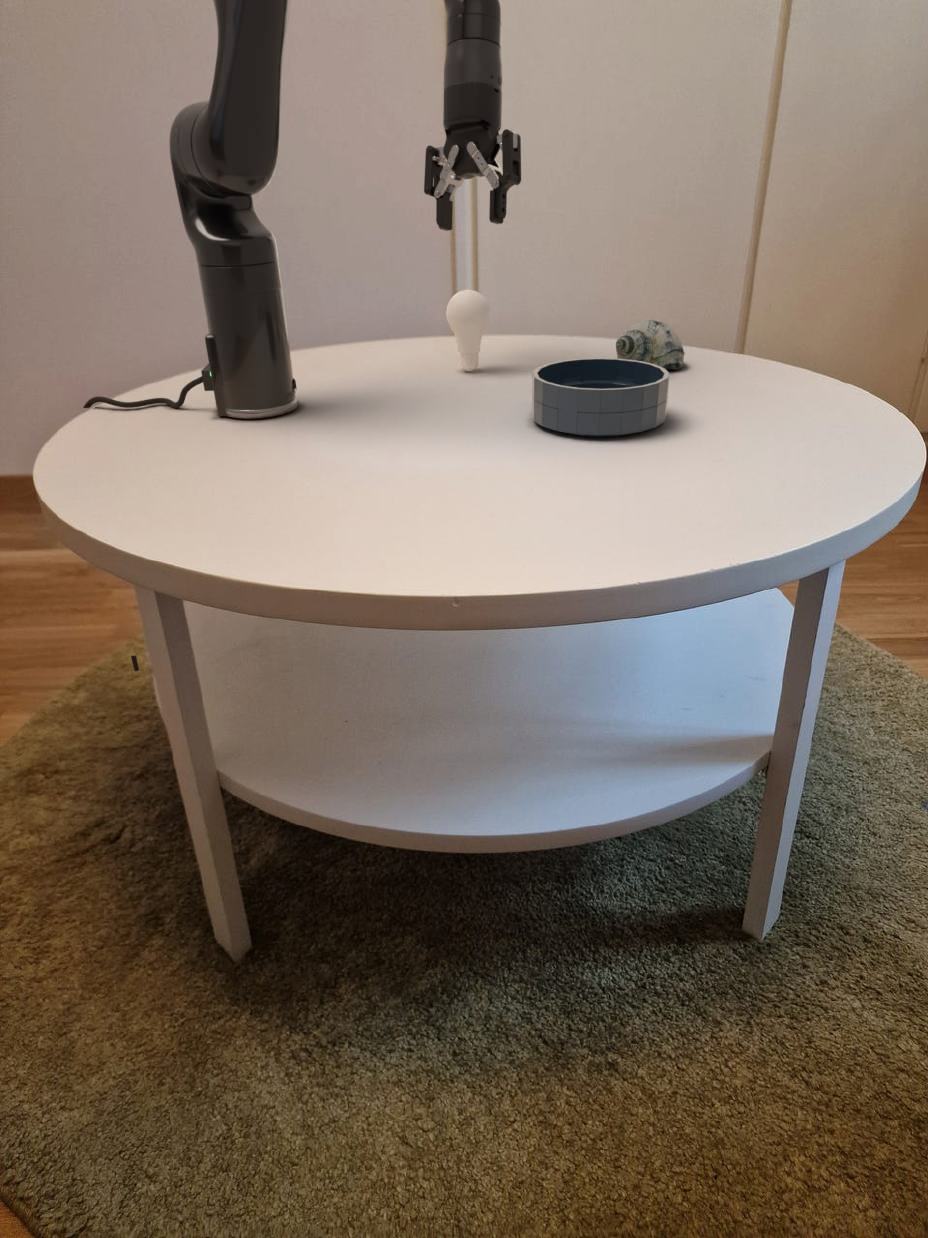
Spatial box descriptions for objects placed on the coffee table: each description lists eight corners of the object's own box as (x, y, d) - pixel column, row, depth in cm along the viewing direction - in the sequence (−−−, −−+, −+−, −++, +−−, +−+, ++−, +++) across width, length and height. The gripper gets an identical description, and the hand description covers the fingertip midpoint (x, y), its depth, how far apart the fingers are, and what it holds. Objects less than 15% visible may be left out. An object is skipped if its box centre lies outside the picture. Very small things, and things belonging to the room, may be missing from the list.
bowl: (539, 443, 92) (540, 392, 89) (526, 405, 105) (526, 360, 103) (679, 438, 92) (684, 387, 90) (648, 401, 105) (652, 355, 103)
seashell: (691, 380, 120) (609, 385, 118) (674, 347, 125) (595, 352, 123) (704, 341, 115) (619, 346, 113) (686, 309, 120) (604, 313, 118)
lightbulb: (443, 375, 120) (440, 292, 115) (454, 365, 125) (451, 286, 120) (485, 376, 119) (484, 293, 114) (494, 366, 124) (494, 286, 119)
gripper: (411, 92, 110) (411, 227, 114) (501, 68, 102) (497, 215, 106) (447, 108, 116) (446, 236, 120) (535, 86, 108) (530, 225, 112)
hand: (470, 226), depth 113 cm, fingers open, 8 cm apart
